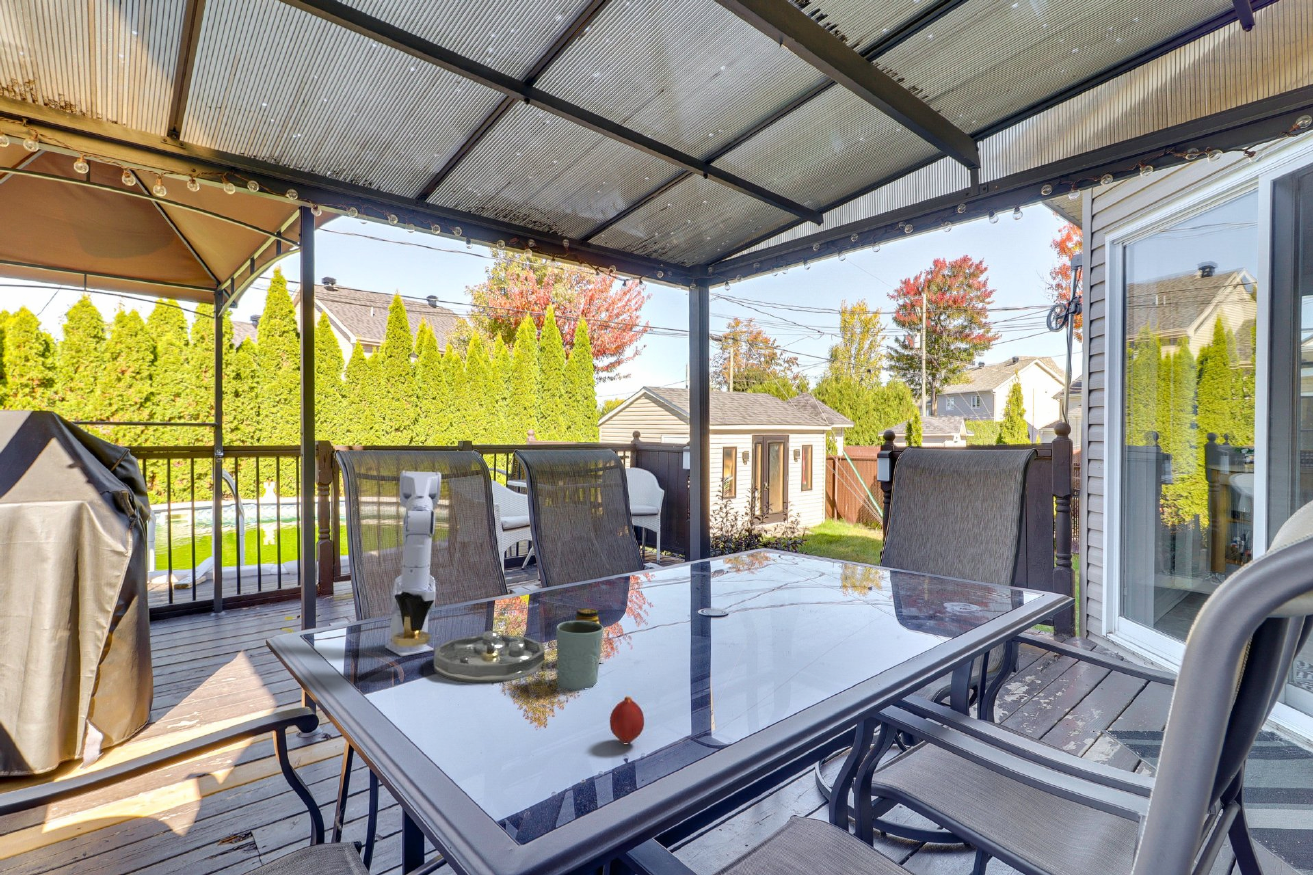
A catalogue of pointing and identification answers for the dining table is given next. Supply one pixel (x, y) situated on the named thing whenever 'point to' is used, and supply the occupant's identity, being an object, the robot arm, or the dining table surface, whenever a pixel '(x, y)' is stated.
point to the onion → (627, 720)
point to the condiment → (587, 615)
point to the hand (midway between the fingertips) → (412, 628)
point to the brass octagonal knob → (410, 636)
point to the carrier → (488, 658)
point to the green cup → (578, 654)
